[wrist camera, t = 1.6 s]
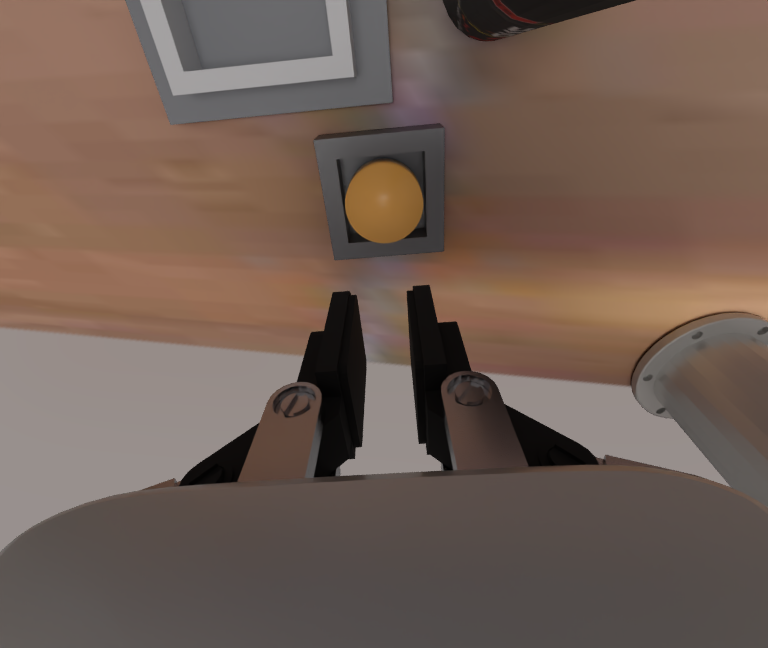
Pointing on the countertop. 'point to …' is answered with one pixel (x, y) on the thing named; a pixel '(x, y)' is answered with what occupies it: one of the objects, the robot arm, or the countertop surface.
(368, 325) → the countertop surface
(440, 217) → the button housing
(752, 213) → the countertop surface
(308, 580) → the robot arm
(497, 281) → the countertop surface
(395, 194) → the button
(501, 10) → the deodorant
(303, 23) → the grey rectangular tray
